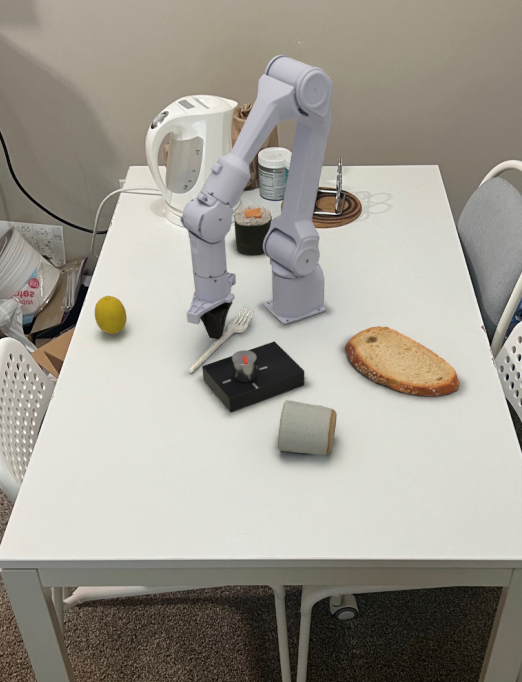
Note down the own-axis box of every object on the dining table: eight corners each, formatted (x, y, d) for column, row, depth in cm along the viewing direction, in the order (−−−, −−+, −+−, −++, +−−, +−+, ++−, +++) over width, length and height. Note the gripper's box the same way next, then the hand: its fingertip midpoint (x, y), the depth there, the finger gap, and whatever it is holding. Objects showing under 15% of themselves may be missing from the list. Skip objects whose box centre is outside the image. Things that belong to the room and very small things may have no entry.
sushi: (270, 235, 165) (269, 201, 160) (274, 254, 159) (273, 219, 154) (233, 238, 165) (231, 204, 159) (236, 257, 159) (234, 222, 153)
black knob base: (274, 354, 132) (274, 340, 130) (304, 385, 126) (304, 370, 124) (203, 380, 127) (201, 365, 125) (230, 413, 120) (229, 398, 118)
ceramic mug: (331, 466, 111) (333, 426, 106) (277, 461, 112) (276, 421, 107) (338, 420, 119) (340, 382, 114) (287, 416, 120) (287, 377, 115)
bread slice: (463, 395, 123) (466, 377, 121) (355, 400, 122) (356, 382, 120) (439, 334, 137) (442, 316, 134) (342, 338, 136) (343, 321, 133)
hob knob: (231, 369, 124) (230, 350, 121) (255, 366, 125) (254, 347, 122) (235, 384, 121) (233, 364, 118) (259, 380, 122) (258, 361, 119)
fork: (182, 371, 129) (181, 362, 127) (241, 314, 142) (241, 306, 141) (198, 376, 128) (197, 367, 126) (256, 319, 141) (256, 310, 139)
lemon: (123, 344, 135) (115, 306, 130) (94, 340, 136) (85, 302, 130) (133, 327, 139) (127, 289, 134) (105, 324, 140) (98, 286, 134)
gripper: (211, 295, 119) (217, 364, 129) (249, 254, 129) (252, 320, 138) (172, 286, 122) (181, 354, 131) (213, 247, 132) (218, 312, 141)
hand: (215, 336), depth 135 cm, fingers closed, pressing on fork
